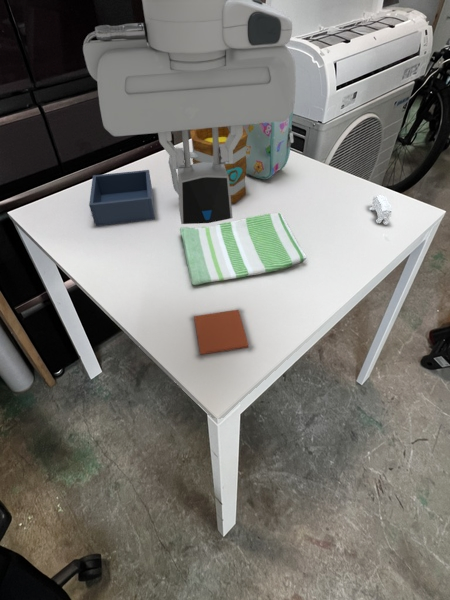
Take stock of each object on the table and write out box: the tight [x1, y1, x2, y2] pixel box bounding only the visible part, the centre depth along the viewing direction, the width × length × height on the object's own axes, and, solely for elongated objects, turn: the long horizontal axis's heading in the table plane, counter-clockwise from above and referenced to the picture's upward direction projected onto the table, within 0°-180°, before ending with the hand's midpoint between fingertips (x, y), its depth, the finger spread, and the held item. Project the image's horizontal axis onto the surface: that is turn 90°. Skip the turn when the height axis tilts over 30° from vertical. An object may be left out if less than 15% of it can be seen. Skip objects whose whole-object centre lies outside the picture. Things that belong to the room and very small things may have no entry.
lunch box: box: [243, 111, 295, 180], centre depth 97 cm, size 27×10×21 cm, turn 48°
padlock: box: [177, 127, 234, 225], centre depth 44 cm, size 7×4×15 cm, turn 100°
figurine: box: [368, 195, 392, 226], centre depth 85 cm, size 2×8×5 cm, turn 1°
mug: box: [168, 126, 248, 205], centre depth 89 cm, size 20×14×15 cm
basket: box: [88, 169, 156, 227], centre depth 89 cm, size 14×14×6 cm
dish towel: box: [179, 212, 307, 286], centre depth 78 cm, size 18×23×3 cm
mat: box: [193, 309, 249, 356], centre depth 63 cm, size 8×8×1 cm
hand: (202, 164), depth 44 cm, fingers closed on padlock, 4 cm apart
